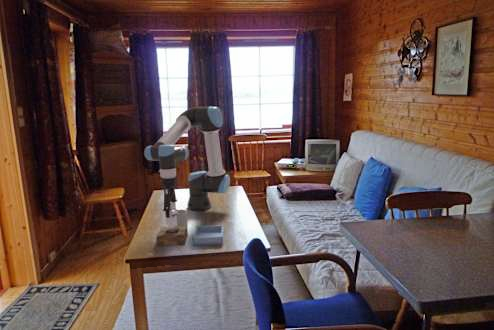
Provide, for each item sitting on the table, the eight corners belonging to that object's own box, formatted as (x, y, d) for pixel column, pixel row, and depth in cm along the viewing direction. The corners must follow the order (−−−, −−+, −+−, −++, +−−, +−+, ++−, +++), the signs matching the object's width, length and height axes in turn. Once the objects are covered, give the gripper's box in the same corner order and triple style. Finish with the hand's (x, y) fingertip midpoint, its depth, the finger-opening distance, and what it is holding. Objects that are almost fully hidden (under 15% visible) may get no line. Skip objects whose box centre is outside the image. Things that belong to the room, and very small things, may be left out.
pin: (167, 238, 183) (165, 209, 180) (180, 237, 183) (178, 208, 180) (165, 243, 177) (163, 213, 174) (178, 242, 177) (176, 212, 174)
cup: (188, 228, 195) (187, 213, 194) (169, 231, 193) (168, 215, 192) (187, 224, 202) (186, 209, 201) (169, 226, 200) (167, 211, 198)
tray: (196, 233, 188) (196, 226, 188) (223, 232, 189) (223, 225, 188) (193, 245, 173) (192, 238, 172) (222, 244, 173) (222, 236, 172)
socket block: (162, 236, 186) (161, 226, 185) (187, 234, 187) (187, 225, 186) (157, 246, 174) (156, 236, 173) (184, 245, 174) (183, 235, 173)
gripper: (165, 172, 186) (168, 211, 190) (154, 182, 162) (158, 228, 165) (180, 171, 186) (182, 211, 190) (171, 182, 162) (174, 227, 166)
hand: (171, 219), depth 178 cm, fingers open, 13 cm apart
